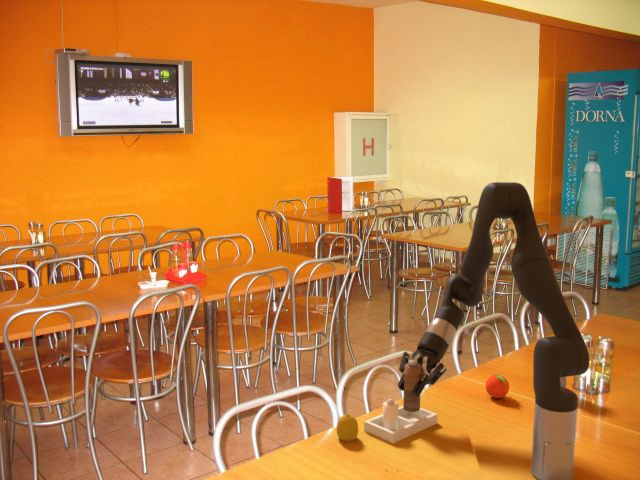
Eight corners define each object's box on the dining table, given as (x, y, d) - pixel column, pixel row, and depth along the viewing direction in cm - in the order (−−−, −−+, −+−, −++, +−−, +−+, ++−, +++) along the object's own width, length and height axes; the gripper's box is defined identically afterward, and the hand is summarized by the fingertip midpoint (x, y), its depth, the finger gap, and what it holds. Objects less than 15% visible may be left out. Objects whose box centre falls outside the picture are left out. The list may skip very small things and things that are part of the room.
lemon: (356, 449, 172) (356, 419, 171) (334, 447, 173) (334, 417, 172) (359, 439, 177) (360, 410, 176) (338, 437, 179) (338, 408, 177)
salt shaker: (398, 434, 177) (399, 402, 176) (383, 434, 177) (383, 402, 176) (397, 427, 181) (397, 396, 180) (382, 427, 181) (382, 396, 180)
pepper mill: (420, 412, 182) (422, 364, 180) (403, 411, 182) (405, 364, 180) (419, 405, 186) (420, 358, 184) (402, 404, 187) (404, 358, 185)
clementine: (515, 401, 203) (517, 378, 202) (496, 404, 201) (497, 381, 200) (499, 391, 211) (500, 369, 210) (480, 394, 208) (481, 372, 207)
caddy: (408, 416, 192) (408, 403, 191) (437, 428, 185) (437, 414, 184) (363, 435, 180) (364, 421, 179) (392, 448, 173) (393, 433, 172)
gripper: (411, 325, 191) (380, 377, 185) (453, 337, 181) (422, 392, 175) (422, 339, 196) (393, 391, 190) (464, 352, 185) (434, 406, 179)
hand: (407, 391), depth 182 cm, fingers closed on pepper mill, 4 cm apart
